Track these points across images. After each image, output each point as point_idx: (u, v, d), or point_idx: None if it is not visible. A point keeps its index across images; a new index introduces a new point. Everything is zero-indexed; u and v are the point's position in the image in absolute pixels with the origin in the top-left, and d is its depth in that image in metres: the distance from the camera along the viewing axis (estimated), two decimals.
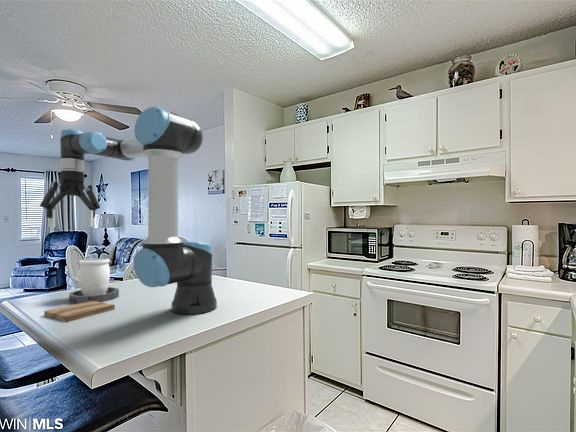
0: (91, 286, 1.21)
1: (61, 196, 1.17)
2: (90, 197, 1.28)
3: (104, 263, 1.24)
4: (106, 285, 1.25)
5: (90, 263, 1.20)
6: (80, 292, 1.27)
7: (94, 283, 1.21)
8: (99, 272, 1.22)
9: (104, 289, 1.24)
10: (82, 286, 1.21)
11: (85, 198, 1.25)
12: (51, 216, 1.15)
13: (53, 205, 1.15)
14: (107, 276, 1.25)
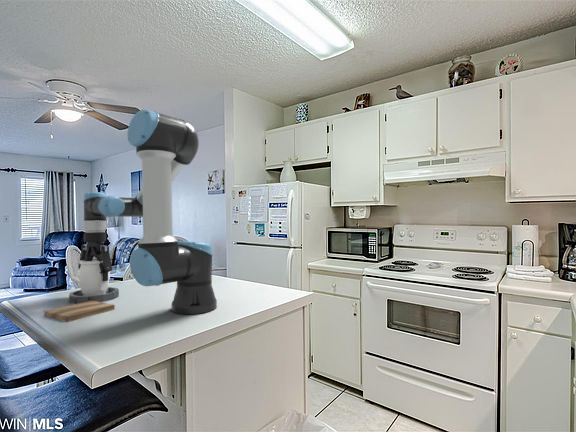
0: (91, 286, 1.21)
1: (85, 258, 1.26)
2: None
3: None
4: None
5: (90, 263, 1.20)
6: (80, 292, 1.27)
7: (94, 283, 1.21)
8: (99, 272, 1.22)
9: None
10: (82, 286, 1.21)
11: (97, 259, 1.23)
12: None
13: None
14: None
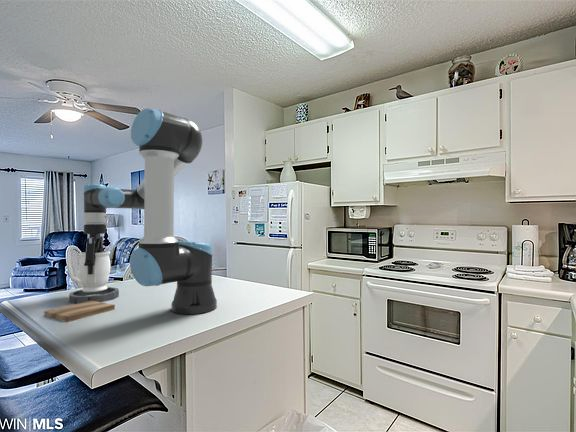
0: (82, 278, 1.21)
1: None
2: None
3: None
4: (98, 279, 1.22)
5: (81, 255, 1.21)
6: (80, 292, 1.27)
7: (83, 275, 1.20)
8: None
9: (95, 282, 1.22)
10: None
11: None
12: None
13: None
14: (98, 269, 1.21)
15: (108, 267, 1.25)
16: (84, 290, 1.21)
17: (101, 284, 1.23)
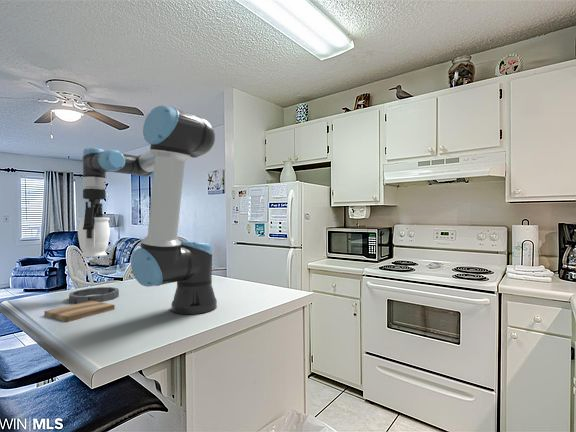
0: (81, 242, 1.19)
1: None
2: None
3: None
4: (97, 243, 1.20)
5: (80, 219, 1.19)
6: (80, 292, 1.27)
7: (82, 239, 1.19)
8: None
9: (94, 247, 1.20)
10: None
11: None
12: None
13: None
14: (97, 234, 1.20)
15: (107, 233, 1.23)
16: (83, 255, 1.20)
17: (100, 249, 1.22)
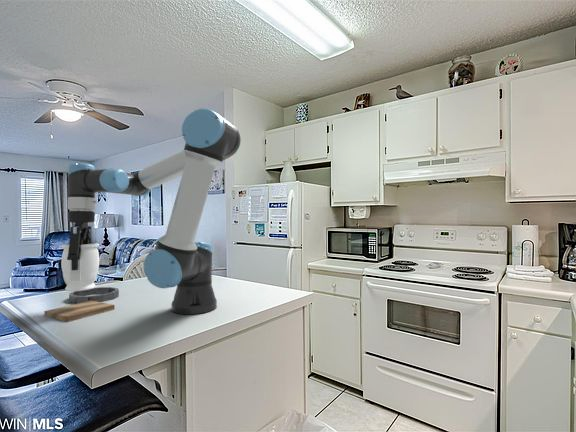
0: (65, 274, 1.02)
1: None
2: None
3: None
4: (84, 275, 1.03)
5: (63, 247, 1.02)
6: (80, 292, 1.27)
7: (66, 271, 1.01)
8: None
9: (81, 280, 1.02)
10: None
11: None
12: None
13: None
14: (84, 264, 1.02)
15: (96, 262, 1.06)
16: (67, 289, 1.02)
17: (88, 282, 1.04)
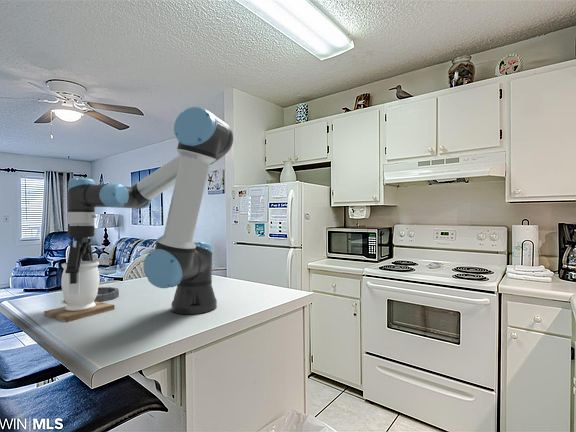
0: (65, 294, 1.02)
1: None
2: None
3: (79, 268, 1.02)
4: (84, 295, 1.03)
5: (63, 266, 1.02)
6: None
7: (66, 291, 1.01)
8: None
9: (81, 299, 1.02)
10: None
11: None
12: None
13: None
14: (84, 284, 1.02)
15: (96, 281, 1.06)
16: (67, 308, 1.02)
17: (88, 301, 1.04)
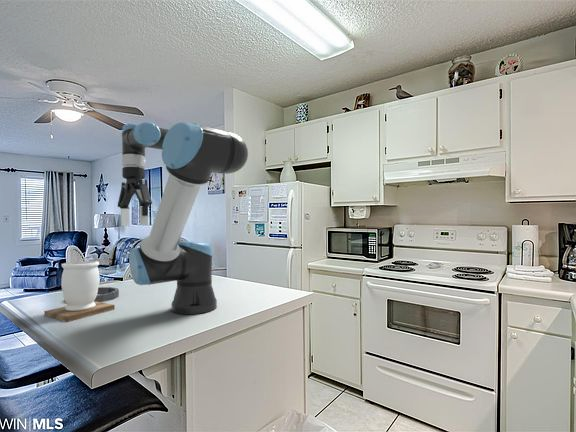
0: (65, 294, 1.02)
1: (124, 195, 1.19)
2: None
3: (79, 268, 1.02)
4: (84, 295, 1.03)
5: (63, 266, 1.02)
6: None
7: (66, 291, 1.01)
8: (71, 278, 1.01)
9: (81, 299, 1.02)
10: None
11: (136, 194, 1.13)
12: None
13: (121, 205, 1.20)
14: (84, 284, 1.02)
15: (96, 281, 1.06)
16: (67, 308, 1.02)
17: (88, 301, 1.04)
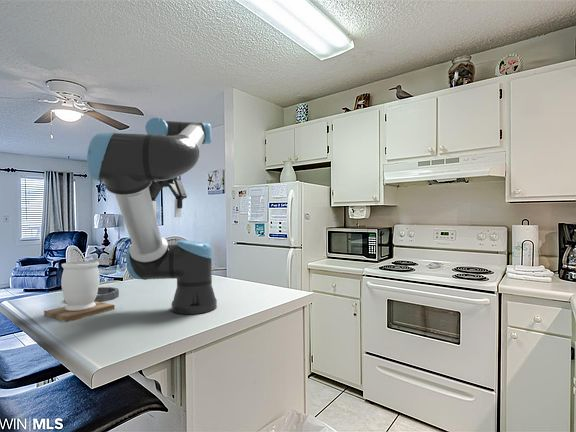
0: (65, 294, 1.02)
1: (154, 188, 1.26)
2: None
3: (79, 268, 1.02)
4: (84, 295, 1.03)
5: (63, 266, 1.02)
6: None
7: (66, 291, 1.01)
8: (71, 278, 1.01)
9: (81, 299, 1.02)
10: None
11: (170, 188, 1.22)
12: None
13: None
14: (84, 284, 1.02)
15: (96, 281, 1.06)
16: (67, 308, 1.02)
17: (88, 301, 1.04)
